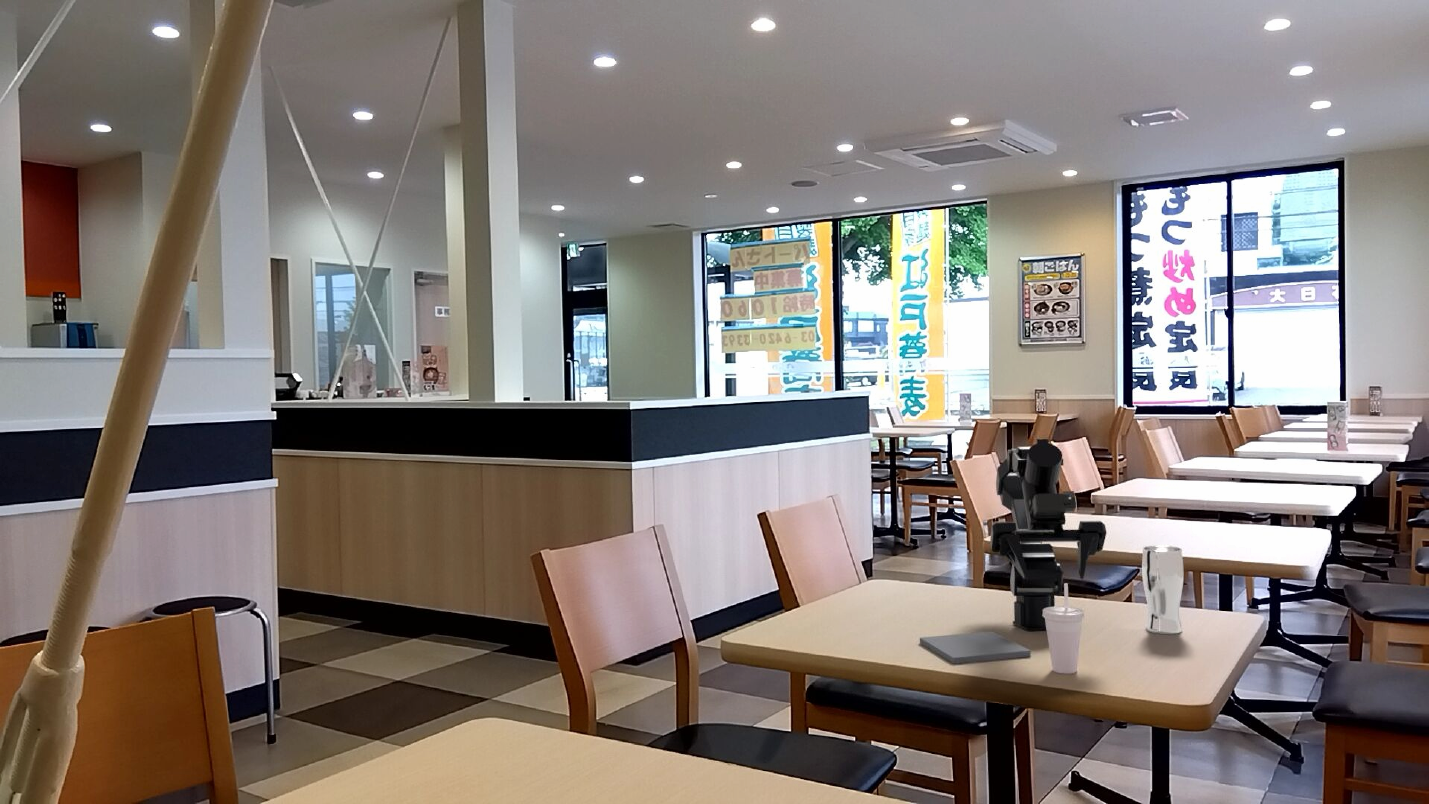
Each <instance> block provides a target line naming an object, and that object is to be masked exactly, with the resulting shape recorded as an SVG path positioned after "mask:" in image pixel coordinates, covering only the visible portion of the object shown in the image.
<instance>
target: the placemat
mask: <svg viewBox="0 0 1429 804" xmlns="http://www.w3.org/2000/svg"><path fill="white" fill-rule="evenodd" d="M919 644H921V645H922V646H924V647H925V648H927V649H929V650H930V651H932V652H934V653H935V654H937V655H938V656H941V658H944V659H945V660H947V661H948V662H950V663H952V664H954V665H955V664H965V663H977V662H983V661H984V662H985V661H997V660H1006V659H1016V658H1017V659H1019V658H1028V657H1031V650H1030V649H1028V648H1026V647H1024V646H1023V645H1020V644H1018V643H1017V642H1015V641H1013V640H1010V639H1008V638H1006V637H1004V636H1003V635H1001V634H998V633H996V632H994V631H993V630H992V631H991V630H990V631H988V630H987V631H978V632H969V633H968V632H967V633H957V634H946V635H934V636H933V635H932V636H922V637H919Z"/></svg>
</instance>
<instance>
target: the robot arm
mask: <svg viewBox="0 0 1429 804" xmlns="http://www.w3.org/2000/svg"><path fill="white" fill-rule="evenodd" d="M1063 466H1064V458H1063V452H1062V451H1061V450H1060V448H1059V447H1058V446H1056V445H1055V444H1053V443H1049V438H1036V439H1035V444H1032V445H1030V446H1028V445H1027V446H1026V445H1025V446H1017V447H1016V448H1011V449H1008V450H1007V455H1006V459H1005V460H1004V461H1003V462H1002V463H1001V464H1000V465H999V466H998V467H997V469H996V481H995V488H996V490H995V491H996V496H999V498H1000V501H1001V502H1000V503H1001V505H1002V506H1004V508H1006V509H1008V510H1010V512H1011V515H1012V521H994V522H993V523H992V524H991V528H990V529H991V530H990V538H989V539H990V549H991V550H990V551H991V552H993V553H998V554H999V555H1000V556H1002V557H1005V558H1007V560H1008V561H1010V563H1011V564H1012V565H1011V573H1010V581H1009V582H1010V592H1011V594H1012V596H1013V597H1015V601H1014V602H1013V613H1014V614H1013V615H1014V619H1013V620H1012V624H1013V625H1014V626H1017V627H1019V628H1021V629H1024V630H1026V631H1029V632H1033V631H1043V630H1044V631H1045V630H1046V623H1045V618H1044V617H1043V616H1042V615H1043V609H1044V608H1047V607H1054V606H1056V605H1055V603H1056V602H1055V601H1056V600H1055V596H1057V597H1061V595H1062V594H1063V582H1064V581H1063V580H1064V574H1065V573H1064V570H1062V567H1061V564H1060V563H1059V562H1057V559H1056V556H1055V554H1054V553H1055V552H1054V547H1053V546H1052V545H1051V543H1076V546H1077V553H1076V555H1077V564H1078V574H1079V577H1080V580H1084V577H1085V572H1086V567H1087V561H1088V559H1089V557H1090V556H1094V555H1096V554H1097V552H1098V553H1099V552H1101V551H1103V549H1104V545H1105V541H1106V536H1107V528H1106V524H1105V523H1103V522H1102V521H1101V520H1080V521H1079V523H1078V524H1079V525H1078V528H1077V529H1064V526H1063V525H1066V516H1065V514H1067V513H1066V512H1075V510H1076V508H1077V501H1076V495H1075V491H1074V490H1064V491H1063V492H1062V493H1058V492H1057V487H1056V485H1057V483H1058V481H1059V477H1060V472H1061V467H1063ZM1012 470H1013V472H1012ZM1046 631H1047V630H1046Z"/></svg>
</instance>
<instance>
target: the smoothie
mask: <svg viewBox="0 0 1429 804" xmlns="http://www.w3.org/2000/svg"><path fill="white" fill-rule="evenodd" d="M1068 584H1069V583H1067V582H1066V583H1065V582H1064V583H1063V588H1064V590H1063V593H1064V599H1063V600H1064V606H1062V605H1061V606H1060V605H1057V606H1056V605H1055V606H1054V607H1047V608H1044V609H1043V615H1042V616H1043V617H1044V618H1045V623H1046V634H1047V635H1046V636H1047V640H1048V641H1047V642H1048V648H1049V655H1050V661H1051V667H1052V668H1051V669H1052V671H1053V672H1054V673H1057V674H1058V673H1059V674H1064V675H1065V674H1075V673H1076V672H1077V671H1078V662H1079V653H1080V652H1079V651H1080V644H1081V643H1080V641H1081V635H1082V634H1081V632H1082V623H1083V619H1084V618H1085V612H1084V610H1083V609H1082V608H1081V609H1080V608H1077V607H1072V606H1069V586H1068Z"/></svg>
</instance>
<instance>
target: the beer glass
mask: <svg viewBox="0 0 1429 804" xmlns="http://www.w3.org/2000/svg"><path fill="white" fill-rule="evenodd" d="M1182 551H1183V550H1182V548H1180V547H1178V546H1173V545H1172V546H1171V545H1148V546H1143V547H1142V560H1141V561H1142V562H1141V576H1142V583H1143V589H1144V593H1145V599H1146V603H1147V604H1146V605H1147V619H1146V624H1145V630H1146V631H1148V632H1149V633H1154V634H1159V635H1177V634H1180V633H1182V632H1183V628H1182V623H1181V617H1180V605H1181V599H1182V592H1183V587H1184V586H1183V585H1184V575H1185V574H1184V572H1185V571H1184V560H1183V553H1182Z"/></svg>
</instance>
